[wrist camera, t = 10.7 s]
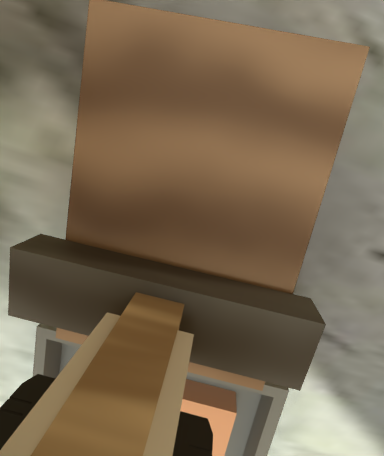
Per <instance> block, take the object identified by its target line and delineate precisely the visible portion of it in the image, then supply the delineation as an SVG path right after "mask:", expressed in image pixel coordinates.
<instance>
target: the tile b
mask: <svg viewBox="0 0 384 456" xmlns="http://www.w3.org/2000/svg"><path fill="white" fill-rule="evenodd" d="M180 411H182V412H186V413H189V414H193V415H197V416H200V417H204V418H208V421H209V423H210V426H211V429H212V432H213V450H212V456H224V455H225V452H226V448H227V445H228V442H229V438H230V435H231V431H232V428H233V424H234V421H235V418H236V414H237V407H236V392H235V391H231V390H227V389H223V388H219V387H215V386H211V385H208V384H204V383H200V382H196V381H192V380H188V379H186V382H185V388H184V393H183V399H182V405H181V410H180Z"/></svg>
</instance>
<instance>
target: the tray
mask: <svg viewBox="0 0 384 456" xmlns="http://www.w3.org/2000/svg"><path fill="white" fill-rule="evenodd" d="M56 329H57V328H56V327H52V326H48V325H45V324H41V323H40V324H39V325H38V326H37V330H36V343H35V355H34V367H33V377H34V376H35V375H37V374H41V375H44V376H48V377H52V378H57V376H58V375H59V374H60V372H61V371H62V370H63V369H64V367H65V366H66V365H67V363H68V362H69V361H70V360H71V358H72V357H73V356H74V354H75V353H76V352H77V351H78V349H79V348H80V347H81V344H77V343H73V342H69V341H65V340H62V339H58V338H56ZM186 379H188V380H192V381H196V382H200V383H204V384H208V385H211V386H215V387H219V388H223V389H227V390H231V391H235V392H236V407H237V414H236V418H235V421H234V424H233V428H232V431H231V435H230V438H229V442H228V445H227V448H226V452H225V455H224V456H267V454H268V451H269V448H270V445H271V442H272V439H273V436H274V433H275V430H276V427H277V424H278V421H279V418H280V415H281V413H282V410H283V407H284V404H285V401H286V398H287V395H288V392H289V390H288V387H284V386H280V385H277V384H273V383H269V382H265V384H264V387H263V391H260V390H256V389H252V388H248V387H245V386H241V385H237V384H233V383H229V382H225V381H221V380H217V379H213V378H209V377H206V376H202V375H198V374H194V373H190V372H187V376H186Z"/></svg>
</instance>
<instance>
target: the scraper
mask: <svg viewBox="0 0 384 456" xmlns="http://www.w3.org/2000/svg"><path fill="white" fill-rule="evenodd" d="M106 313H111V314H115V315H119V316H120V318H119V319H118V321H117V322H116V324H115V326H114V327H113V329H112V330H111V332H110V333H109V335H108V336H107V338H106V340H105V341H104V343H103V344H102V346H101V347H100V349H99V350H98V352H97V354H96V355H95V357H94V358H93V360H92V361H91V363H90V364H89V366H88V367H87V369H86V371H85V372H84V374H83V375H82V377H81V378H80V380H79V381H78V383H77V385H76V386H75V388H74V389H73V391H72V392H71V394H70V395H69V397H68V399H67V400H66V402H65V403H64V405H63V406H62V408H61V409H60V411H59V412H58V414H57V416H56V417H55V419H54V420H53V422H52V423H51V425H50V426H49V428H48V430H47V431H46V433H45V434H44V436H43V437H42V439H41V440H40V442H39V444H38V445H37V447H36V448H35V450H34V451H33V453H32V454H31V456H143V453H144V450H145V446H146V442H147V439H148V435H149V432H150V428H151V424H152V421H153V417H154V413H155V410H156V406H157V403H158V399H159V395H160V392H161V388H162V385H163V381H164V377H165V374H166V370H167V367H168V363H169V359H170V356H171V352H172V349H173V345H174V341H175V338H176V334H177V331H178V330H179V331H183V332H187V333H191V334H194V337H193V343H192V348H191V354H190V359H189V362H191V363H195V364H199V365H203V366H207V367H211V368H215V369H219V370H222V371H226V372H230V373H234V374H238V375H242V376H246V377H249V378H253V379H257V380H261V381H265V382H269V383H273V384H277V385H280V386H284V387H288V388H292V389H296V390H300V389H301V387H302V384H303V382H304V379H305V377H306V374H307V371H308V369H309V366H310V364H311V361H312V359H313V356H314V353H315V351H316V348H317V346H318V343H319V340H320V338H321V335H322V333H323V330H324V328H325V325H326V324H325V322H324V321H323V319H322V317H321V315H320V314H319V312H318V310H317V308H316V307H315V305H314V303H313V301H312V300H311V299H310V298H306V297H302V296H298V295H294V294H290V293H285V292H281V291H277V290H273V289H269V288H265V287H260V286H256V285H252V284H248V283H244V282H239V281H235V280H231V279H227V278H223V277H219V276H214V275H210V274H206V273H202V272H198V271H194V270H189V269H185V268H181V267H177V266H173V265H168V264H164V263H160V262H156V261H152V260H148V259H143V258H139V257H135V256H131V255H127V254H123V253H118V252H114V251H110V250H106V249H102V248H97V247H93V246H89V245H85V244H81V243H77V242H72V241H68V240H64V239H60V238H56V237H52V236H47V235H43V234H40V235H37V236H35V237H33V238H31V239H28V240H26V241H24V242H22V243H19V244H17V245H15V246H13V247H10V273H9V308H8V315H10V316H14V317H17V318H21V319H25V320H29V321H33V322H37V323H41V324H45V325H48V326H52V327H56V328H60V329H64V330H68V331H72V332H75V333H79V334H83V335H87V336H89V335H90V334H91V332H92V331H93V330H94V329H95V327H96V326H97V325H98V323H99V322H100V321H101V320H102V318H103V317H104V316H105V314H106Z"/></svg>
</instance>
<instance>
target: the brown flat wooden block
mask: <svg viewBox="0 0 384 456" xmlns="http://www.w3.org/2000/svg"><path fill="white" fill-rule="evenodd" d="M369 48H370V47H368V46H362V45H356V44H351V43H345V42H339V41H333V40H328V39H322V38H316V37H311V36H305V35H299V34H294V33H288V32H282V31H276V30H271V29H265V28H259V27H254V26H248V25H242V24H237V23H231V22H225V21H219V20H214V19H208V18H202V17H197V16H191V15H185V14H180V13H174V12H168V11H162V10H157V9H151V8H145V7H140V6H134V5H128V4H123V3H117V2H111V1H105V0H89V9H88V19H87V29H86V39H85V49H84V59H83V69H82V79H81V89H80V99H79V109H78V119H77V129H76V139H75V149H74V159H73V169H72V179H71V189H70V199H69V209H68V219H67V229H66V239H65V240H68V241H72V242H77V243H81V244H85V245H89V246H93V247H97V248H102V249H106V250H110V251H114V252H118V253H123V254H127V255H131V256H135V257H139V258H143V259H148V260H152V261H156V262H160V263H164V264H168V265H173V266H177V267H181V268H185V269H189V270H194V271H198V272H202V273H206V274H210V275H214V276H219V277H223V278H227V279H231V280H235V281H239V282H244V283H248V284H252V285H256V286H260V287H265V288H269V289H273V290H277V291H281V292H285V293H290V294H293V291H294V288H295V285H296V282H297V278H298V275H299V272H300V269H301V266H302V262H303V259H304V256H305V253H306V250H307V246H308V243H309V240H310V237H311V234H312V230H313V227H314V224H315V221H316V217H317V214H318V211H319V208H320V205H321V201H322V198H323V195H324V192H325V189H326V185H327V182H328V179H329V176H330V173H331V169H332V166H333V163H334V160H335V157H336V153H337V150H338V147H339V144H340V141H341V137H342V134H343V131H344V128H345V125H346V121H347V118H348V115H349V112H350V108H351V105H352V102H353V99H354V96H355V92H356V89H357V86H358V83H359V80H360V76H361V73H362V70H363V67H364V64H365V60H366V57H367V54H368V51H369ZM56 338H58V339H62V340H65V341H69V342H73V343H77V344H81V345H82V344H83V343H84V341H85V340H86V339H87V338H88V336H87V335H83V334H79V333H75V332H72V331H68V330H64V329H60V328H57V329H56ZM187 372H190V373H194V374H198V375H202V376H206V377H209V378H213V379H217V380H221V381H225V382H229V383H233V384H237V385H241V386H245V387H248V388H252V389H256V390H260V391H263V387H264V384H265V381H261V380H257V379H253V378H249V377H246V376H242V375H238V374H234V373H230V372H226V371H222V370H219V369H215V368H211V367H207V366H203V365H199V364H195V363H191V362H189V365H188V371H187Z"/></svg>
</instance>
